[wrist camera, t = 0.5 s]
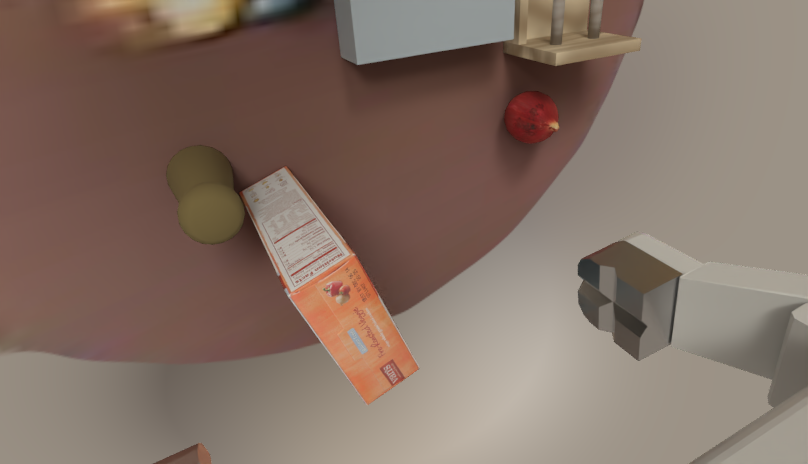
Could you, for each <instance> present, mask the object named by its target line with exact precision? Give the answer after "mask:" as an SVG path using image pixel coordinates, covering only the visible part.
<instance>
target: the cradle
mask: <svg viewBox="0 0 808 464" xmlns="http://www.w3.org/2000/svg"><path fill="white" fill-rule="evenodd" d="M589 2H590V0H515V15H514V39H512V40H506V41H504V48H503V53H506V54H510V55H514V56H518V57H522V58H526V59H530V60H534V61H538V62H542V63H546V64H550V65H554V66H558V65H563V64H569V63H574V62H580V61H585V60H591V59H596V58H602V57H607V56H612V55H618V54H623V53H629V52H634V51H640V45H641V38H635V37H628V36H622V35H616V34H609V33H603V32H600V25H601V16H602V8H603V0H591V8H590V17H589V27H588V30H587V22H588V12H589Z"/></svg>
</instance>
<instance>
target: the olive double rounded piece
mask: <svg viewBox="0 0 808 464" xmlns="http://www.w3.org/2000/svg"><path fill="white" fill-rule="evenodd" d="M166 177H167V182H168V185H169V187H170V189H171V190H172V192H173V194H174V195H175V197H176V199H177V200H178V202H179V206H178V211H177V214H178V219H179V224H180V226H181V228H182V229H183V231H184V232H185V233H186V234H187V235H188V236H189V237H190V238H192V239H193V240H195V241H197V242H200V243H202V244H212V245H213V244H219V243H223V242H225V241H227V240H229V239H231V238H232V237H234V236H235V235H236V234H237V233H238V232H239V230H240V228H241V227H242V225H243V221H244V216H245V211H244V205H243V203H242V201H241V199H240V197H239V195H238V194H237V193H236V192H235V191H234V185H233V172H232V167H231V165H230V163H229V161H228V159H227V158H226V157H225V156H224V155H223V154H222V153H221V152H220V151H218V150H216V149H214V148H212V147H207V146H202V145H199V146H190V147H188V148H185V149H183V150H180V151H179V152H178V153H177V154H176V155H175V156H173V158H172V159H171V161H170V163H169V164H168V167H167V173H166Z"/></svg>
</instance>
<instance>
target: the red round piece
mask: <svg viewBox="0 0 808 464" xmlns="http://www.w3.org/2000/svg"><path fill="white" fill-rule="evenodd" d="M558 118H559V115H558V111H557V107H556V105H555V103H554V102H553V100H552V99H551V98H550V97H549V96H548V95H545V94H543V93H541V92H538V91H526V92H524V93H521V94H519V95H517V96H515V97H514V98H513V99H512V100H511V101H510V102H509V104H508V106H507V108H506V110H505V117H504V121H505V124H506V127H507V131H508V132H509V133H510V134H511V135H512V136H513V137H514V138H515V139H516V140H519V141H522V142H525V143H531V144H532V143H537V142H541V141H543V140H545V139H547V138H548V137H550V136H551V135H552V133H553V132H557V131H558V129H559V125H558Z"/></svg>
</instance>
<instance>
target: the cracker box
mask: <svg viewBox="0 0 808 464" xmlns="http://www.w3.org/2000/svg"><path fill="white" fill-rule="evenodd" d="M239 194H240V196H241V198H242V200H243V202H244V204H245V207H246V209H247V211H248V213H249V215H250V217H251V219H252V221H253V223H254V225H255V227H256V230H257V232H258V234H259V236H260V238H261V240H262V242H263V245H264V247H265V249H266V251H267V253H268V255H269V257H270V259H271V262H272V264H273V266H274V268H275V271H276V273H277V275H278V277H279V279H280V282H281V284H282V286H283V288H284V290H285V292H286V294H287V296H288V297H289V298H290V300H291V301H292V303H293V304H294V305H295V307H296V308H297V310H298V311H299V312H300V314H301V315H302V317H303V318H304V319H305V321H306V322H307V324H308V325H309V326H310V328H311V329H312V331H313V332H314V333H315V335H316V336H317V338H318V339H319V340H320V342H321V343H322V344H323V346H324V347H325V349H326V350H327V351H328V353H329V354H330V356H331V357H332V358H333V360H334V361H335V362H336V364H337V365H338V367H339V368H340V369H341V371H342V372H343V373H344V375H345V376H346V378H347V379H348V380H349V382H350V383H351V385H352V386H353V387H354V388H355V390H356V391H357V393H358V394H359V396H360V397H361V398H362V400H363V401H364V403H365V404H366V405H369V404H370V403H371V402H373V401H374V400H375V399H377V398H378V397H380V396H381V395H383V394H384V393H386V392H387V391H388V390H390V389H391V388H393V387H394V386H396V385H397V384H398V383H400V382H401V381H403V380H404V379H406V378H407V377H409V376H410V375H411V374H413V373H414V372H415V371H417V370H419V369H420V367H419V365H418V363H417V361H416V360H415V358H414V357H413V354H412V353H411V351H410V349H409V347H408V346H407V344H406V342H405V340H404V338H403V337H402V335H401V333H400V331H399V330H398V327H397V326H396V324H395V322H394V320H393V319H392V317H391V315H390V314H389V312H388V310H387V308H386V306H385V305H384V303H383V301H382V299H381V298H380V296H379V294H378V292H377V291H376V289H375V287H374V285H373V284H372V282H371V280H370V278H369V277H368V275H367V273H366V272H365V270H364V268H363V267H362V265H361V263H360V261H359V260H358V258H357V256H356V255H355V253H354V252H353V250H352V249H351V248H350V247H349V246H348V244H347V243H346V242H345V240H344V239H343V238H342V236H341V235H340V234H339V233H338V231H337V230H336V229H335V228H334V226H333V225H332V224H331V223H330V221H329V220H328V219H327V218H326V216H325V215H324V214H323V212H322V211H321V210H320V209H319V207H318V206H317V205H316V203H315V202H314V201H313V200H312V198H311V197H310V196H309V194H308V193H307V192H306V191H305V189H304V188H303V187H302V185H301V184H300V183H299V182H298V180H297V179H296V178H295V177H294V176H293V174H292V173H291V171H290V170H289V169H288V168H287V167H286V166H285V167H283V168H281V169H279V170H278V171H276V172H274V173H272V174H271V175H269V176H267V177H265V178H264V179H262V180H260V181H258V182H257V183H255V184H253V185H251V186H250V187H248V188H246V189H245V190H243V191H241V192H239Z"/></svg>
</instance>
